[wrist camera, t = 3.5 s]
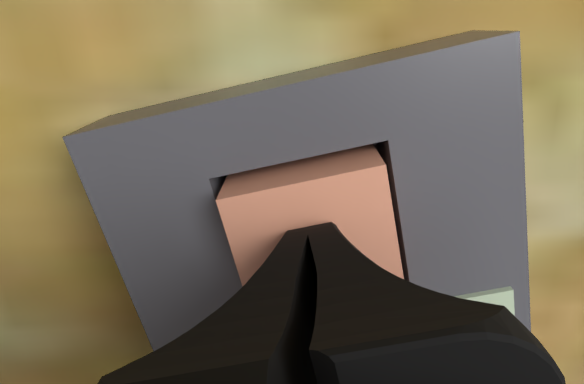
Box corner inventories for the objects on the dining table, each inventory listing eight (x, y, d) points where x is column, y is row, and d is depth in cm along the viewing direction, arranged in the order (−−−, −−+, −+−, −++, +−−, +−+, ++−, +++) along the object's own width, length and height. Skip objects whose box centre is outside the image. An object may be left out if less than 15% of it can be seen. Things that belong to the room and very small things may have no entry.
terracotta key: (385, 249, 15) (408, 309, 12) (266, 272, 16) (258, 336, 13) (365, 132, 14) (386, 164, 11) (234, 161, 14) (215, 200, 11)
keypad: (505, 474, 20) (541, 551, 17) (257, 508, 21) (251, 587, 18) (472, 30, 13) (523, 31, 10) (108, 115, 14) (58, 138, 11)
